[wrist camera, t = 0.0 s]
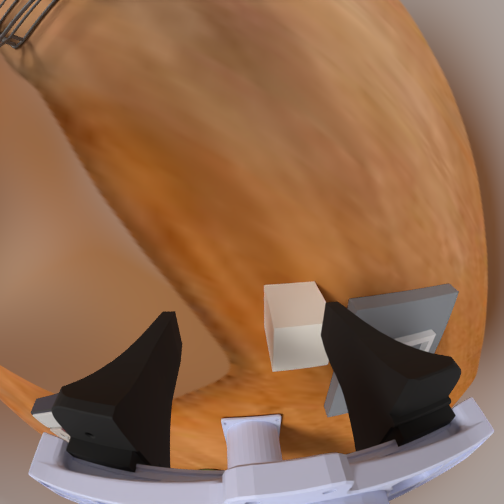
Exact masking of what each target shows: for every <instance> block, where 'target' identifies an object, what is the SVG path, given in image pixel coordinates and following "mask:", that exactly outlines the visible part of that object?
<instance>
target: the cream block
mask: <svg viewBox="0 0 504 504" xmlns="http://www.w3.org/2000/svg"><path fill="white" fill-rule="evenodd" d="M325 303H326V301H325V300H324V298H323V296H322V294H321V292H320V291H319V289H318V287H317V285H316V283H315V282H314V281H313V282H301V283H288V284H274V285H264V327H265V332H266V338H267V343H268V349H269V354H270V360H271V365H272V371H273V372H275V371H284V370H293V369H301V368H309V367H316V366H322V365H328V361H329V359H328V357H327V355H326V352H325V349H324V346H323V342H322V338H321V330H322V323H323V317H324V310H325Z"/></svg>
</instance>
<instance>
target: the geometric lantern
mask: <svg viewBox="0 0 504 504" xmlns="http://www.w3.org/2000/svg"><path fill="white" fill-rule="evenodd" d="M5 1H6V0H4V1H3V2H2V3H1V5H0V8H1V7H2V5H3V4H4V3H5ZM17 1H18V0H15V1H14V2H13V4H12V5H11V6H10V8H9V9H8V10H7V12H6V13H5V14H4V16H3V17H2V19H1V20H0V24H1V22H2V21H3V19H4V18H5V17H6V15H7V14H8V12H9V11H10V10H11V8H12V7H13V6H14V4H15V3H16V2H17ZM34 1H35V0H29V1H28V2H27V4H26V5H25V6H24V7H23V8H22V9H21V10H20V11H19V13H18V14H17V15H16V16H15V17H14V19H13V20H12V21H11V22H10V23H9V25H8V26H7V27H6V29H5V30H4V31H3V33H2V34H1V33H0V42H1V41H2V43H0V47H1V46H3V45H4V44H5V43H6V44H8V45H10V46H11V47H13V48H15V49H16V48H17V47H18V46H19V45H21V44H22V43H23V42H24V41H25V39H26V38H27V36H28V35H29V34H30V32H31V31H32V30H33V28H34V27H35V26H36V24H37V23H38V22H39V20H40V19H41V18H42V17H43V15H44V14H45V13H46V12H47V11H48V9H49V8H50V7H51V6H52V5H53V4H54V3H55V1H56V0H53V1H52V2H51V3H50V4H49V5H48V7H47V8H46V9H45V10H44V11H43V13H42V14H41V15H40V16H39V18H38V19H37V20H36V21H35V23H34V24H33V25H32V27H31V28H30V29H29V31H28V32H27V33H26V35H25V36H24V38H21V37H18V36H15V35H14V34H15V32H16V31H17V29H18V28H19V27H20V25H21V24H22V23H23V22H24V20H25V19H26V18H27V17H28V15H29V14H30V13H31V12H32V10H33V9H34V8H35V7H36V6H37V5H38V4H39V2H40V1H41V0H38V1H37V2H36V3H35V4H34V5H33V6H32V8H31V9H30V10H29V11H28V12H27V14H26V15H25V16H24V17H23V19H22V20H21V21H20V22H19V24H18V25H17V26H16V28H15V29H14V30H13V32H12V33H11V35H10V36H9V37H8V38H6V37H5V35H6V34H7V33H8V31H9V30H10V29H11V28H12V26H13V25H14V24H15V23H16V21H17V20H18V19H19V18H20V17H21V15H22V14H23V13H24V12H25V11H26V10H27V9H28V7H29V6H30V5H31V4H32V3H33V2H34ZM12 38H13V39H16V40H19V41H20V42H19V43H18V44H17V45H16V43H14V42H11V41H10V39H12Z"/></svg>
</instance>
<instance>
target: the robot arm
mask: <svg viewBox="0 0 504 504" xmlns="http://www.w3.org/2000/svg"><path fill="white" fill-rule="evenodd" d="M321 338H322V342H323V346H324V349H325V352H326V355H327V357H328V359H329V361H330V364H331V366H332V368H333V371H334V373H335V375H336V377H337V380H338V382H339V384H340V387H341V389H342V392H343V395H344V399H345V402H346V406H347V410H348V414H349V418H350V422H351V427H352V432H353V437H354V442H355V449H356V452H353V453H349V454H341V453H336V452H334V453H326V454H320V455H314V456H309V457H303V458H297V459H290V460H282V454H281V448H280V442H279V434H280V425H281V415H279V414H276V415H267V416H255V417H239V418H223V419H221V423H222V427H223V431H224V435H225V439H226V443H227V459H228V469H227V470H188V469H174V468H170V421H171V407H172V400H173V394H174V390H175V385H176V380H177V376H178V371H179V367H180V362H181V351H182V342H181V337H180V332H179V328H178V323H177V318H176V314H175V312H162V313H161V314H160V315H159V316H158V318H157V319H156V320H155V321H154V322H153V323H152V324H151V325H150V327H149V328H148V329H147V330H146V331H145V332H144V333H143V334H142V336H141V337H139V338H138V339H137V341H135V342H134V343H133V344H132V345H131V346H130V347H129V348H128V349H127V350H126V351H125V352H123V353H122V354H121V355H120V356H118V357H117V358H116V359H115V360H113V361H112V362H110V363H109V364H107V365H106V366H104V367H103V368H101V369H100V370H98V371H96V372H94V373H93V374H91V375H89V376H87V377H85V378H83V379H81V380H79V381H76V382H73V383H71V384H68V385H66V386H63V387H62V388H61V390H60V392H59V394H58V396H57V398H56V400H55V402H54V404H53V406H52V410H51V412H52V414H53V417H54V418H55V420H56V421H57V422H58V423H59V425H60V426H61V427H62V428H63V429H64V430H65V431H66V432H67V433H68V435H69V436H70V440H69V442H67V441H66V440H64V439H62V438H59V437H57V436H54V435H51V434H48V433H45V432H44V433H43V434H42V437H41V440H40V442H39V444H38V447H37V450H36V453H35V455H34V458H33V461H32V464H31V467H30V470H29V473H28V474H29V475H30V476H31V477H32V478H34V479H35V480H37V481H38V482H39V483H41V484H43V485H44V486H46V487H47V488H48V489H50V490H52V491H53V492H55V493H57V494H58V495H60V496H62V497H64V498H66V499H69V500H71V501H74V502H76V503H79V504H389V501H390V500H392V499H394V498H396V497H399V496H401V495H403V494H405V493H407V492H409V491H411V490H413V489H415V488H417V487H419V486H421V485H423V484H424V483H426V482H428V481H430V480H432V479H434V478H435V477H437V476H439V475H440V474H442V473H444V472H445V471H447V470H449V469H450V468H452V467H453V466H455V465H456V464H458V463H460V462H461V461H463V460H464V459H466V458H467V457H468V456H469V455H470V454H472V453H473V452H474V451H475V450H476V449H477V448H478V447H479V446H480V445H482V444H483V443H484V442H485V441H486V440H487V439H488V438H489V437H490V436H491V435H492V434H493V433H494V429H493V428H492V426H491V424H490V423H489V421H488V420H487V418H486V417H485V415H484V414H483V412H482V411H481V409H480V408H479V406H478V405H477V403H476V402H475V400H474V399H473V397H470V398H468V399H466V400H464V401H463V402H461V403H459V404H457V405H456V406H455V407H453V408H452V409H451V407H450V406H449V404H450V403H451V399H450V398H449V394H450V393H451V391H452V390H453V388H454V387H455V385H456V384H457V382H458V380H459V378H460V375H461V369H460V368H459V366H458V365H457V364H456V362H455V361H454V360H453V359H452V357H449V356H443V355H438V354H433V353H430V352H426V351H423V350H419V349H416V348H414V347H411V346H408V345H406V344H403V343H401V342H399V341H397V340H395V339H393V338H391V337H389V336H387V335H385V334H383V333H382V332H380V331H378V330H377V329H375V328H374V327H372V326H371V325H369V324H368V323H366V322H365V321H363V320H362V319H360V318H359V317H358V316H356V315H355V314H354V313H352V312H351V311H350V310H348V309H347V308H346V307H344V306H343V305H341V304H340V303H339V302H328V303H325V310H324V317H323V323H322V330H321Z"/></svg>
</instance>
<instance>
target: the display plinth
mask: <svg viewBox="0 0 504 504" xmlns="http://www.w3.org/2000/svg"><path fill="white" fill-rule="evenodd" d="M457 295H458V291H457V290H456V289H455V288H454V287H453V286H451V285H450V284H444V285H438V286H433V287H427V288H421V289H415V290H409V291H402V292H396V293H389V294H382V295H375V296H367V297H360V298H352V299H349V303H348V308H347V309H348V310H350V311H351V312H352V313H354V314H355V315H356V316H358V317H359V318H360V319H362V320H363V321H365V322H366V323H368V324H369V325H371V326H372V327H374V328H375V329H377V330H378V331H380V332H382V333H383V334H385V335H387V336H389V337H391V338H393V339H395V340H397V341H399V342H401V343H403V344H406V345H408V346H411V347H414V348H416V349H419V350H423V351H426V352H430V353H433V354H434V352H435V350H436V348H437V346H438V344H439V342H440V339H441V337H442V335H443V332H444V330H445V328H446V325H447V323H448V320H449V317H450V315H451V312H452V310H453V307H454V304H455V301H456V298H457ZM324 408H325V411H326V414H327V417H331V416H336V415H341V414H345V413H348V410H347V406H346V402H345V399H344V395H343V392H342V389H341V387H340V384H339V382H338V380H337V377H336V375H335V373H334V372H333V376H332V380H331V383H330V387H329V391H328V394H327V398H326V401H325V404H324Z"/></svg>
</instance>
